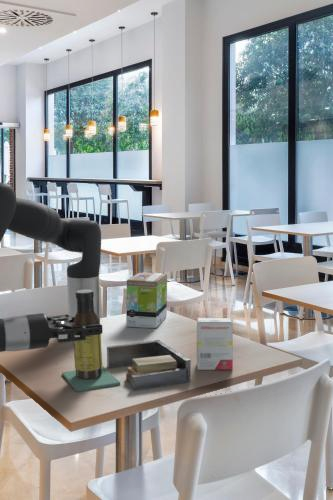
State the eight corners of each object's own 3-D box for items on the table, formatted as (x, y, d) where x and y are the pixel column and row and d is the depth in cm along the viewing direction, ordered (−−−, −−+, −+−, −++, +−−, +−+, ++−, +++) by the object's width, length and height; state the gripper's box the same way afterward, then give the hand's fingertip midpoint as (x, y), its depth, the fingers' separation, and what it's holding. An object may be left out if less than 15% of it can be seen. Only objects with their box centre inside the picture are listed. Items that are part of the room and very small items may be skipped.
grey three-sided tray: (107, 366, 145) (106, 346, 145) (158, 359, 151) (158, 339, 150) (133, 390, 129) (133, 368, 129) (190, 381, 135) (190, 359, 134)
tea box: (157, 329, 180) (157, 280, 178) (125, 327, 182) (124, 279, 180) (167, 317, 194) (167, 272, 192) (137, 315, 196) (137, 271, 194)
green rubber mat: (62, 374, 140) (62, 372, 139) (103, 368, 144) (103, 366, 144) (76, 391, 129) (76, 389, 129) (120, 384, 133) (120, 382, 133)
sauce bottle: (85, 369, 141) (82, 286, 139) (107, 373, 138) (105, 288, 136) (69, 378, 136) (65, 292, 133) (92, 381, 133) (89, 294, 130)
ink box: (231, 363, 147) (231, 316, 146) (232, 370, 142) (233, 322, 141) (196, 363, 147) (196, 316, 146) (196, 370, 143) (197, 321, 141)
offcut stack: (125, 378, 137) (125, 359, 136) (169, 372, 141) (169, 353, 141) (135, 387, 131) (135, 367, 130) (180, 380, 136) (180, 361, 135)
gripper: (30, 323, 123) (105, 315, 129) (17, 308, 135) (86, 302, 142) (32, 358, 124) (106, 348, 130) (18, 340, 136) (87, 332, 143)
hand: (96, 324), depth 136 cm, fingers open, 8 cm apart
